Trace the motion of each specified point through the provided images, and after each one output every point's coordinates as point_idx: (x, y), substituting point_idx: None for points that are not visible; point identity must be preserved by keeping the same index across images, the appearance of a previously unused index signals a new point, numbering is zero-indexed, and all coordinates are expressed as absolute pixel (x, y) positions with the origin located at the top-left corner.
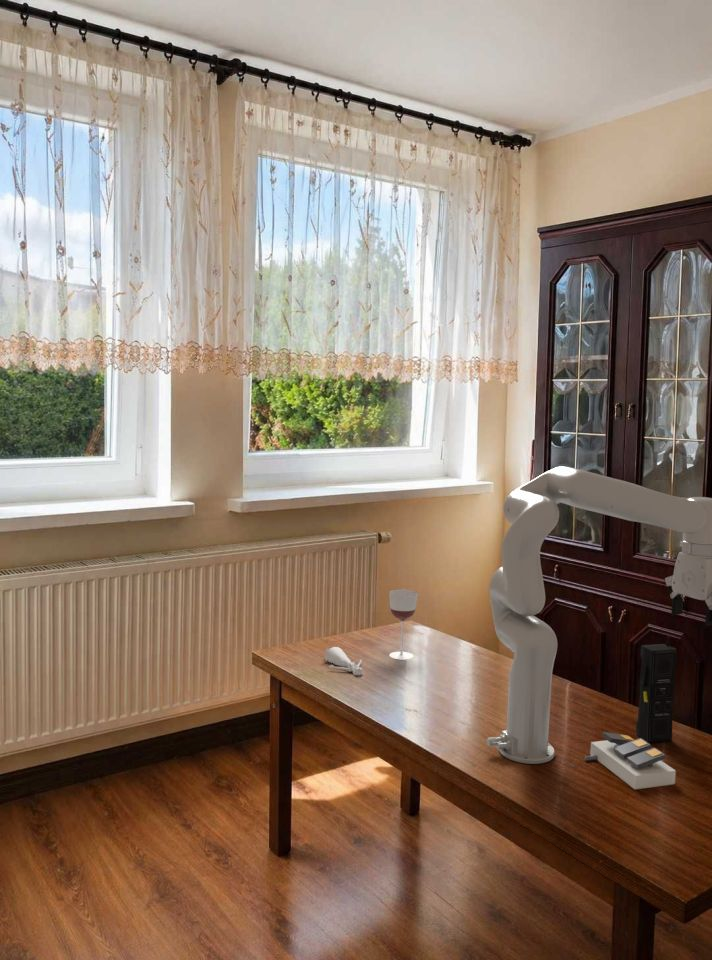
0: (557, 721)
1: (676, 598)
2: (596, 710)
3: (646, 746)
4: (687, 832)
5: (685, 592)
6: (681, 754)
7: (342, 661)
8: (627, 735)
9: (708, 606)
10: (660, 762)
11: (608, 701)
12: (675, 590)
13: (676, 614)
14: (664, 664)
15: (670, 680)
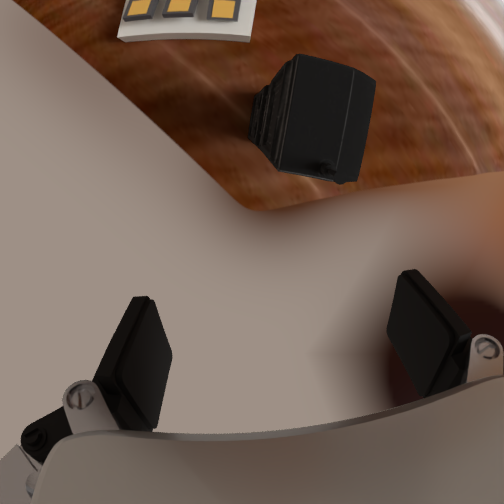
0: (387, 31)
1: (453, 359)
2: (402, 122)
3: (164, 8)
4: (48, 7)
5: (369, 454)
6: (200, 117)
7: None
8: (236, 19)
9: (99, 400)
10: (147, 29)
11: (418, 172)
12: (500, 388)
13: (395, 292)
14: (276, 113)
15: (262, 135)
